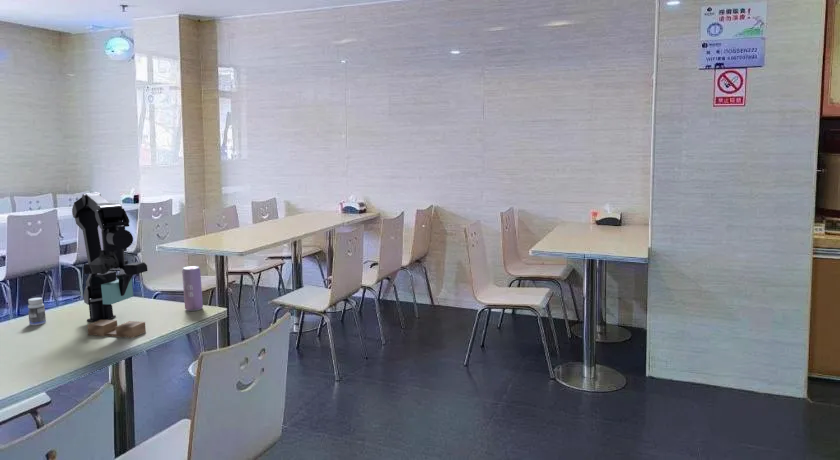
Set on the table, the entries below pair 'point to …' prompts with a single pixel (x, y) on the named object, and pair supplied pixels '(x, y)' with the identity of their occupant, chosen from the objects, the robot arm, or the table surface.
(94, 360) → the table surface
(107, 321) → the slotted block
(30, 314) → the pill bottle
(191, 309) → the beverage can
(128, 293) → the teal upright brick
